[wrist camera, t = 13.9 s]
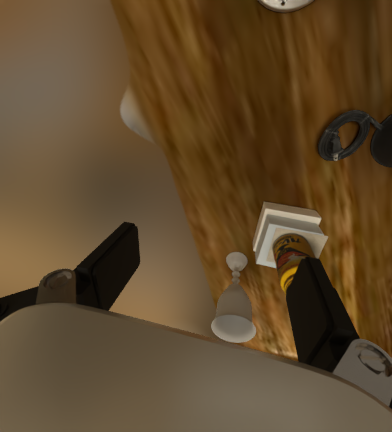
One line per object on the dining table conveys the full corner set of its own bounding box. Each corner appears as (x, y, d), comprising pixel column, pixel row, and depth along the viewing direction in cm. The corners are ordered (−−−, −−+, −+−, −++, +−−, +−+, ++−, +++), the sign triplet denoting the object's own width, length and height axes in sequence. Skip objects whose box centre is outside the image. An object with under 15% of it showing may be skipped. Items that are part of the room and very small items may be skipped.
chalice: (226, 273, 52) (218, 343, 36) (217, 252, 49) (205, 316, 34) (255, 269, 49) (260, 341, 33) (247, 246, 47) (249, 312, 31)
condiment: (275, 227, 35) (289, 274, 25) (327, 235, 34) (365, 289, 24) (265, 260, 39) (274, 314, 28) (313, 269, 37) (340, 329, 27)
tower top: (267, 213, 39) (269, 223, 35) (316, 223, 38) (323, 234, 34) (255, 251, 43) (256, 263, 39) (299, 261, 42) (304, 274, 38)
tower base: (263, 200, 42) (265, 208, 38) (314, 209, 41) (321, 218, 37) (252, 240, 47) (253, 250, 43) (298, 249, 45) (302, 261, 42)
